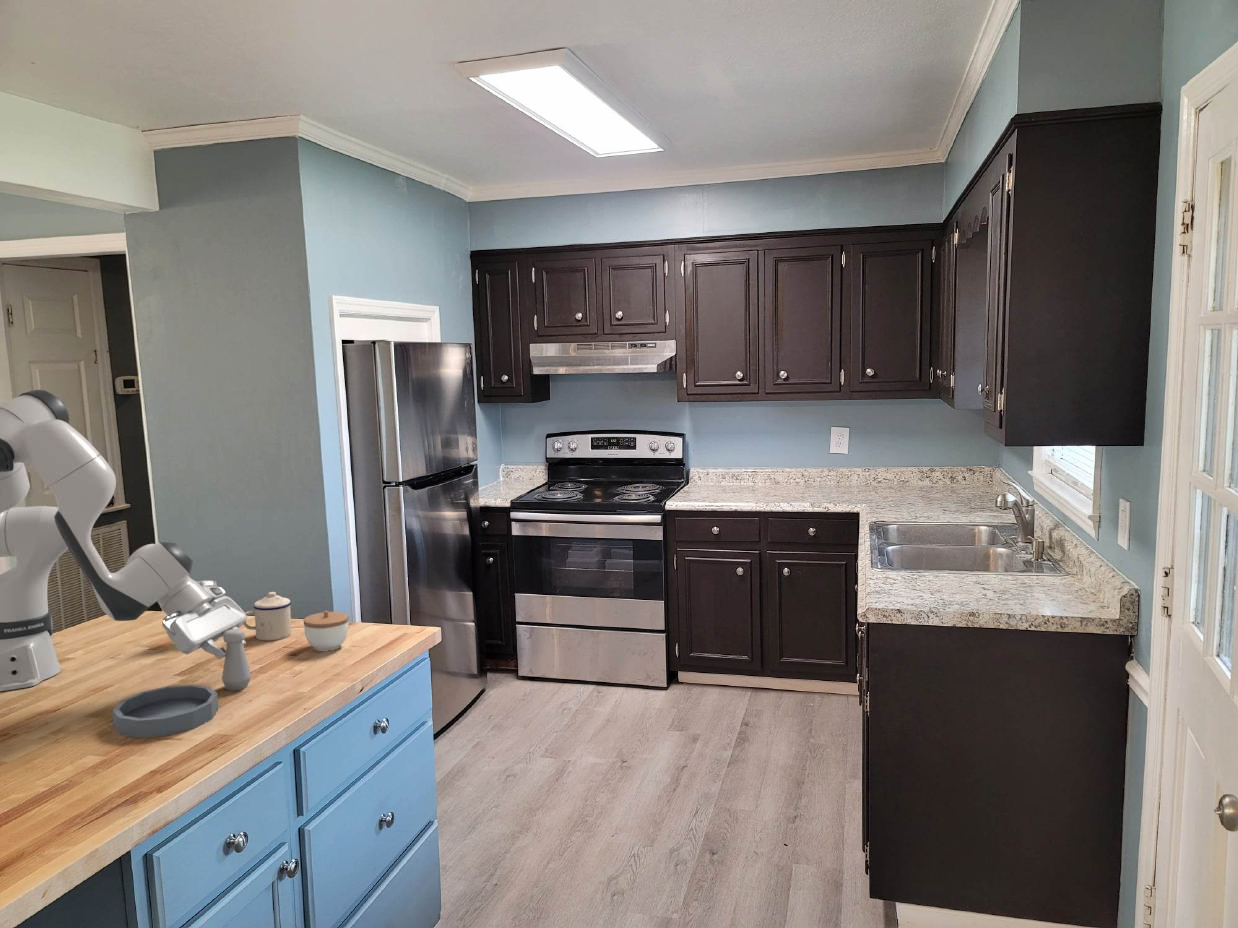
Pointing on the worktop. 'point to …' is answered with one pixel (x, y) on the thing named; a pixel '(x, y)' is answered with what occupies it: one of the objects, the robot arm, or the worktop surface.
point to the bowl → (165, 711)
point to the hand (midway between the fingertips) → (233, 651)
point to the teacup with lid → (271, 618)
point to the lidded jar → (326, 630)
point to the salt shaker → (235, 661)
